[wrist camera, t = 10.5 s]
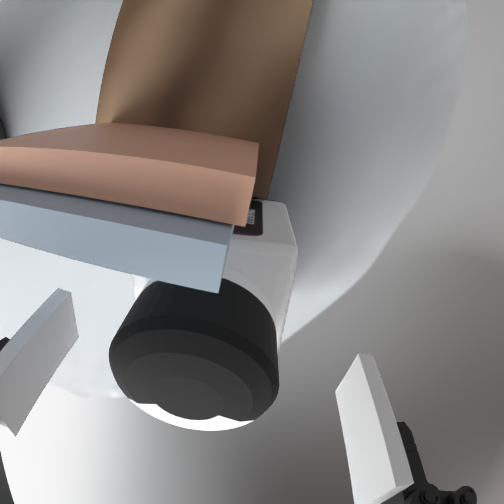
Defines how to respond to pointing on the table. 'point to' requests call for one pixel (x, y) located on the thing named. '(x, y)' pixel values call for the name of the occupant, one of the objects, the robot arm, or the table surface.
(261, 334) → the container
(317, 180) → the table surface
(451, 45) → the table surface
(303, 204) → the table surface
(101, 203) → the books
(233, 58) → the shelf
